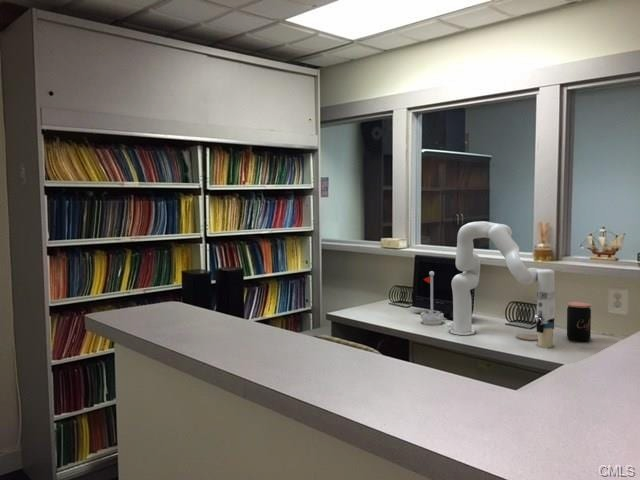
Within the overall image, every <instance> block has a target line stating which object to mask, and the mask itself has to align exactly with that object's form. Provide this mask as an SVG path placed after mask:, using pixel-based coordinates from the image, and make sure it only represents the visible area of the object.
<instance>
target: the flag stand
mask: <svg viewBox="0 0 640 480" xmlns="http://www.w3.org/2000/svg"><path fill="white" fill-rule="evenodd" d="M428 275H429V276H427V277H425V278H423V281H424V282H426V283H428V284H429V285H430V291H429V292H430V310H429V311H428V312H426V311H422V312H420V319H421V321H422V322H421V323H422V324H424V325H428V326H429V325H431V326H437V325H441V324H443V319H444V318H445V317H444V315H445V314H444V313H443V312H441V311H436V312H435V313H434V276H435V271H433V270H431V271H429V273H428Z"/></svg>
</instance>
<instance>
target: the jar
mask: <svg viewBox="0 0 640 480" xmlns="http://www.w3.org/2000/svg"><path fill="white" fill-rule="evenodd" d="M537 336H538V340H537V346H538V347H541V348H552V347H553V346H554V345H553V344H554V329H553V327H552V328H544V332H543V333H540V332H537Z"/></svg>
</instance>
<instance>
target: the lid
mask: <svg viewBox="0 0 640 480" xmlns="http://www.w3.org/2000/svg"><path fill="white" fill-rule="evenodd" d="M543 325H544V328H552V327H553V322H550V321H547V320H544V322H543Z"/></svg>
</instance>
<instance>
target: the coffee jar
mask: <svg viewBox="0 0 640 480" xmlns="http://www.w3.org/2000/svg"><path fill="white" fill-rule="evenodd" d="M566 305H567V308H566V338H567V339H568V340H569V341H571V342H576V343H587V342H588V343H589V341H590V340H591V333H592V332H591V330H592V329H591V328H592V323H591V322H592V309H591V307H592V304H591V303H588V302H582V301H569V302H567V303H566Z"/></svg>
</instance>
